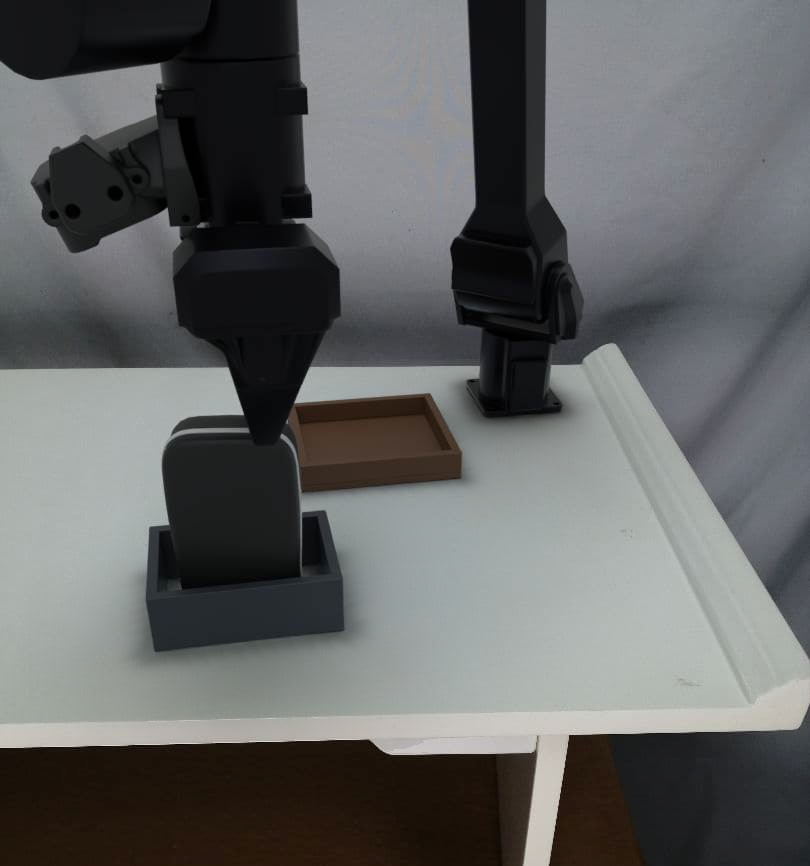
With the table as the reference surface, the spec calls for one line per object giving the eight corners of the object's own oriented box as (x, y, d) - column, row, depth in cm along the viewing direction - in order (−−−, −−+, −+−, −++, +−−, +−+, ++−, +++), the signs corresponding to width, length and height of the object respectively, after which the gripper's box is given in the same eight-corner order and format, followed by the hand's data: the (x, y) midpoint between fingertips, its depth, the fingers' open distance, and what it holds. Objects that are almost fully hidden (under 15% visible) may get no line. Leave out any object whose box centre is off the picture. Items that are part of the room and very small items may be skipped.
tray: (288, 427, 73) (286, 403, 72) (429, 415, 75) (430, 392, 74) (302, 492, 65) (300, 466, 64) (461, 477, 67) (462, 452, 66)
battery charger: (309, 581, 56) (300, 404, 50) (306, 621, 53) (295, 436, 47) (190, 583, 56) (165, 405, 49) (180, 623, 52) (152, 438, 46)
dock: (157, 576, 56) (148, 526, 54) (327, 558, 58) (325, 509, 56) (154, 652, 50) (145, 599, 48) (344, 630, 52) (342, 578, 50)
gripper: (49, 34, 45) (102, 345, 54) (-14, 89, 30) (74, 513, 38) (283, 32, 47) (299, 333, 56) (337, 83, 32) (347, 488, 40)
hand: (258, 402), depth 47 cm, fingers open, 9 cm apart
